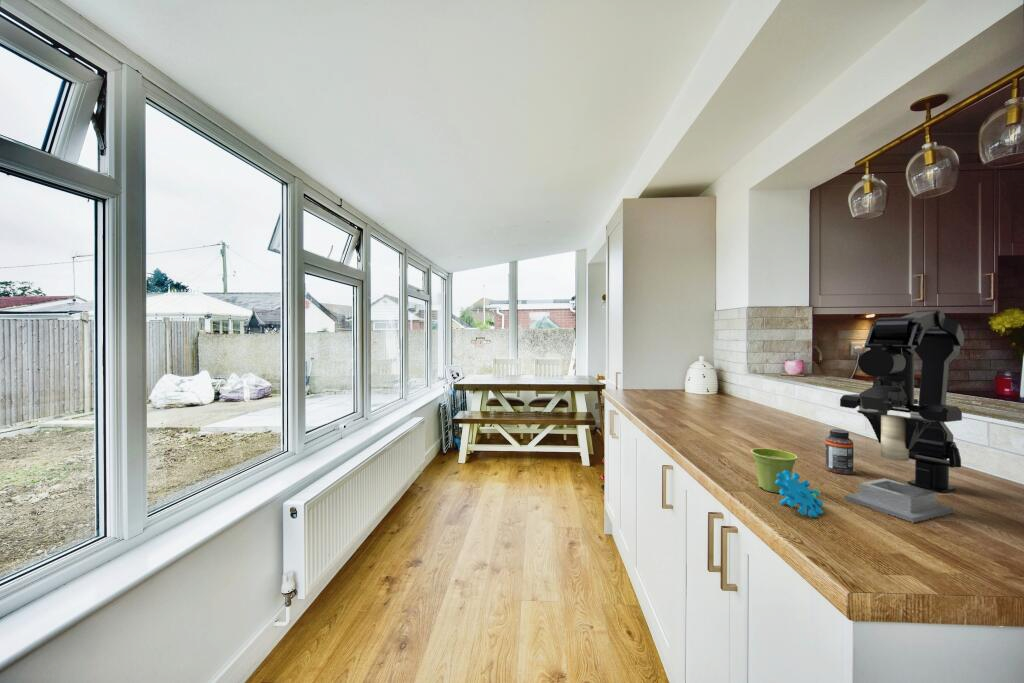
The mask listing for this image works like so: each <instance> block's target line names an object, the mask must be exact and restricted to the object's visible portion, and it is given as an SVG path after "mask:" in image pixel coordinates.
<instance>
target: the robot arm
mask: <svg viewBox="0 0 1024 683" xmlns="http://www.w3.org/2000/svg"><path fill="white" fill-rule="evenodd" d="M867 334H868V335H867V336H866V340H865V343H864V346H863V347H864V349H869V350H866V351H864V352H863V353H862V354H861V355H860V356H859V359H858V361H857V364H858V367H859V369H860V371H862V373H864V374H865V375H868V376H870V377H874V378H873V381H872V387H869V388H866V389H865V390H864V391H862V392H860V393H858V394H857V393H856V394H855V393H851V394H843V395H842V396H841V397H840V398H839V407H840V408H841V407H842V408H846V409H856V408H857V407H859V408H858V410H856V411H857V413H858V414H861V415H863V416H864V417H865V418H866V419H867V420H868V422H869V423H870V426H871V428H872V431H873V432H874V434H875V437H876V439H877V441H878V443H879V444H881V415H888V412H890V411H894V412H899V413H900V412H902V413H908V414H910V417H908V416H906V417H907V418H904V420H905V423H906V425H907V427H906V441H905V443H906V449H909V460H913V461H914V479H913V480H908V481H907V485H911V486H914V487H918V488H922V489H925V490H929V491H933V492H934V491H935V492H936V493H938V492H939V493H946V492H950V491H951V492H952V491H956V490H957V486H953V485H950V481H949V480H950V477H949V476H950V468H951V469H954V468H962V458H961V454H960V449H959V448H958V447H957V444H956V442H955V441H954V434H953V433H952V431H951V430H950V429H949V427H948V426H947V424H945V423H950V422H958V421H962V420H963V412H962V409H960V407H958V405H952V404H951V405H950V404H947V392H948V391H947V390H948V379H949V378H948V376H949V368H950V367H949V366H950V363H951V362H952V361H953V360H955V358H957V357H958V356H959V355H960V351H961V347H962V346H964V343H965V335H964V332H963V330H962V328H961V325H960V323H959V322H957V321H955V320H953V319H951V318H949V317H947V316H946V315H945V313H944V311H943V310H940V309H924V310H923V309H921V310H915V311H912V312H911V313H909V314H905V315H903V316H900V317H879V318H876V319H875V321H874V323H872V324H871V326H870V328H869V332H868V333H867ZM915 354H916V355H917V356H918V358H919V360H921V372H920V383H919V384H918V382H919V381H918V380H917V379H915ZM918 385H919V393H918V394H919V395H918V398H915V386H918Z"/></svg>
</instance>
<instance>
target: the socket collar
mask: <svg viewBox="0 0 1024 683" xmlns="http://www.w3.org/2000/svg"><path fill="white" fill-rule="evenodd" d="M858 484H859V486H858V487H859V488H858V489H859V490H858V492H859V496H860V497H863V498H866V499H869V500H872V501H875V502H878V503H881V504H884V505H887V506H891V507H894V508H897V509H900V510H903V511H906V512H909V513H913V512H918V511H922V510H926V509H930V508H934V507H937V503H938V501H937V500H938V497H937V495H938V492H937V491H935V492H934V491H933V490H930V489H926V488H922V487H919V486H915V485H912V484H908V483H907V484H906V483H903V482H899V481H896V480H892V479H890V478H889V479H888V478H878V479H874V480H868V481H863V482H859V483H858Z"/></svg>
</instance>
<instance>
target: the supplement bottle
mask: <svg viewBox="0 0 1024 683" xmlns="http://www.w3.org/2000/svg"><path fill="white" fill-rule="evenodd" d="M849 436H850V432H849V431H848V430H845V429H838V428H830V430H829V435H828V436H827V437H825V444H824V445H825V447H824V449H825V454H824V455H825V456H824V457H825V461H824V462H825V463H824V464H825V469H826V470H827V471H828V472H831V473H834V474H837V475H838V474H839V475H852V474H853V473H854V441H853V440H852V439H850V437H849Z"/></svg>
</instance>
